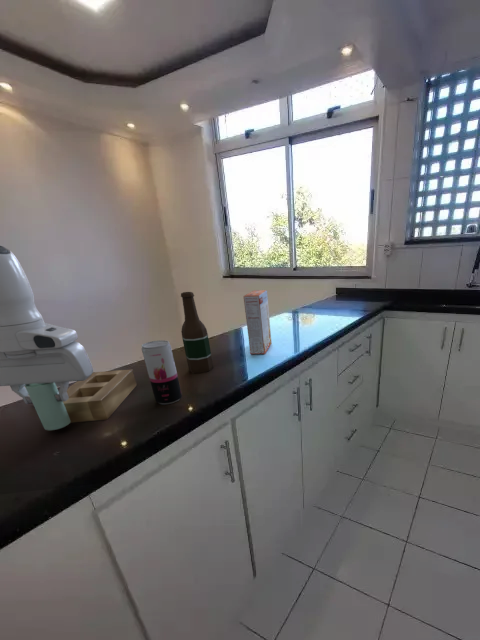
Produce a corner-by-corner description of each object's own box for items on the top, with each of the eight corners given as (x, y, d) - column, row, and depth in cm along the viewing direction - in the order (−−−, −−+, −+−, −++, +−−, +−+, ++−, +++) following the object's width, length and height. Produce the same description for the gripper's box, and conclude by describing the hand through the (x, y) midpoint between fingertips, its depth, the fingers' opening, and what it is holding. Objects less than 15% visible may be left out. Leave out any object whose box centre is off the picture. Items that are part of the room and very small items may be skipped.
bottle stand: (53, 424, 71) (45, 405, 69) (94, 388, 90) (88, 372, 88) (107, 419, 73) (100, 400, 70) (136, 385, 91) (132, 369, 89)
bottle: (39, 431, 65) (7, 364, 59) (52, 420, 70) (24, 356, 63) (63, 429, 66) (35, 362, 59) (75, 418, 70) (49, 354, 64)
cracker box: (257, 343, 126) (252, 289, 117) (272, 343, 126) (268, 289, 116) (249, 354, 114) (242, 295, 104) (265, 354, 113) (260, 294, 104)
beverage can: (171, 406, 78) (157, 348, 71) (150, 403, 79) (134, 347, 73) (187, 395, 83) (175, 340, 77) (167, 393, 85) (153, 339, 78)
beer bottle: (218, 367, 102) (206, 291, 92) (200, 375, 97) (184, 294, 86) (202, 363, 106) (188, 290, 96) (183, 371, 100) (167, 293, 90)
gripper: (-55, 344, 55) (-18, 412, 61) (68, 338, 57) (91, 404, 64) (-27, 335, 61) (4, 398, 67) (84, 330, 63) (104, 391, 69)
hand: (48, 401), depth 65 cm, fingers closed on bottle, 5 cm apart
